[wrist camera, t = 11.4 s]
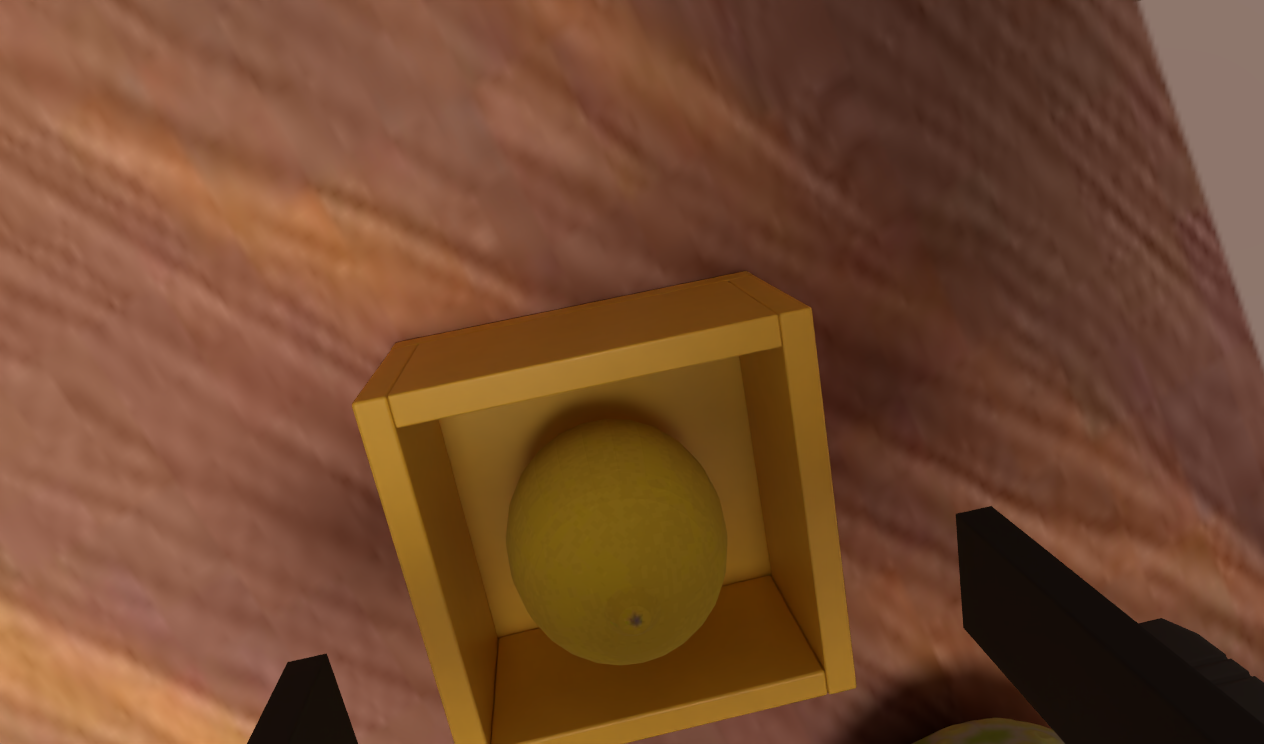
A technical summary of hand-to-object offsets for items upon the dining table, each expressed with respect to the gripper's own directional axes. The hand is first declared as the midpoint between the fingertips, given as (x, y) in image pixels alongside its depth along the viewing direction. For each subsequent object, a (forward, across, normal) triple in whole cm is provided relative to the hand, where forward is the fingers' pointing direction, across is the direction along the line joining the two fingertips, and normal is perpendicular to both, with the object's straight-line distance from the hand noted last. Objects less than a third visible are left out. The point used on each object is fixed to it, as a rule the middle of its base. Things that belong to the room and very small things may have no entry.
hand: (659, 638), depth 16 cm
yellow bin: (+9, 0, 0) cm, 9 cm away
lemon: (+9, 0, 0) cm, 9 cm away
